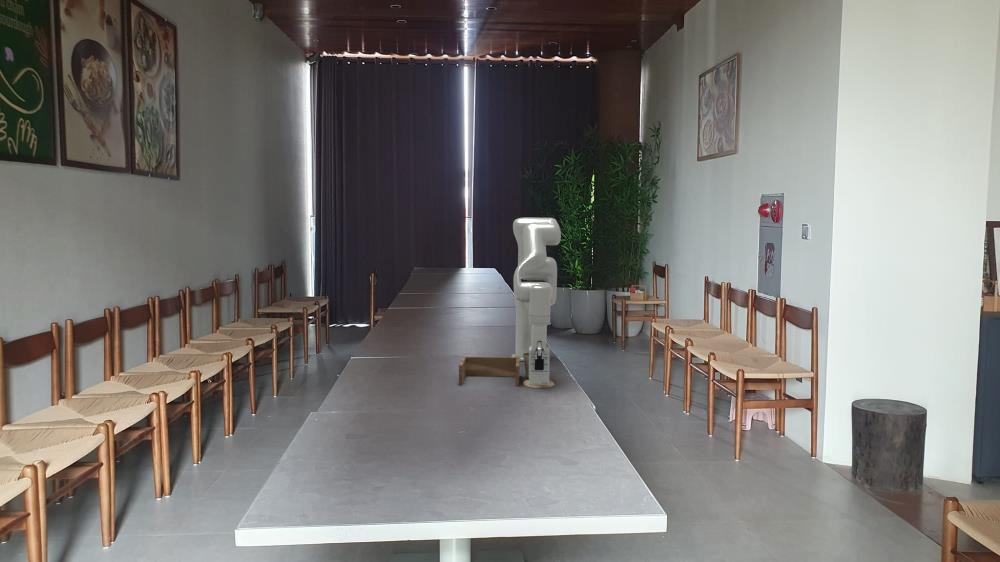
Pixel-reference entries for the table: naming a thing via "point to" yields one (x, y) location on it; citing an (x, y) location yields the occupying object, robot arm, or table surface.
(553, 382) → the coaster
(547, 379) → the supplement box
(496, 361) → the brown angled piece
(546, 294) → the robot arm
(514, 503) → the table surface
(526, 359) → the flower pot
